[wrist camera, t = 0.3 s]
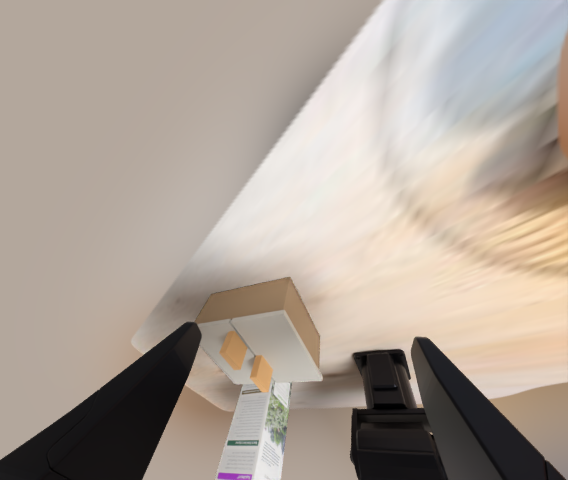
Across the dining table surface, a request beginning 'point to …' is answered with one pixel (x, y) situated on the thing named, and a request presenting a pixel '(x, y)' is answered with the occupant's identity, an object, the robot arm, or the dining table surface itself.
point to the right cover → (276, 349)
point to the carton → (264, 308)
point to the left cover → (228, 350)
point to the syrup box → (257, 434)
